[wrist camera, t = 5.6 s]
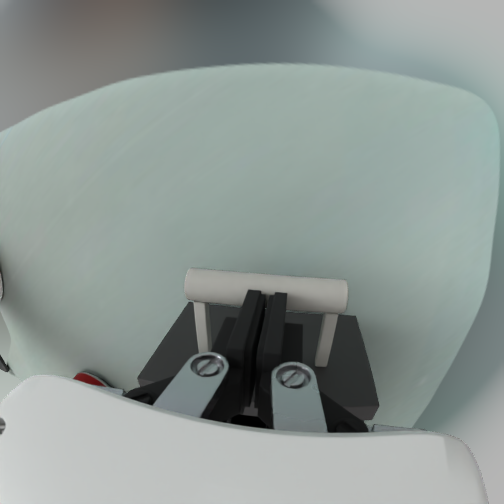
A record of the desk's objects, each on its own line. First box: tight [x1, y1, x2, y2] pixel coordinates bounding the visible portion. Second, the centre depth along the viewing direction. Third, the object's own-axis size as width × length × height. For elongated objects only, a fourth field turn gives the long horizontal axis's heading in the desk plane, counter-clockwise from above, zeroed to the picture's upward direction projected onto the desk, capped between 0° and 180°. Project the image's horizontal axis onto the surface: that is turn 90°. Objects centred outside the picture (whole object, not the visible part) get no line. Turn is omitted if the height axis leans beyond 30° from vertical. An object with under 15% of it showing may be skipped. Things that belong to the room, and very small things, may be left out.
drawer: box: [138, 268, 379, 429], centre depth 16 cm, size 19×11×8 cm, turn 179°
